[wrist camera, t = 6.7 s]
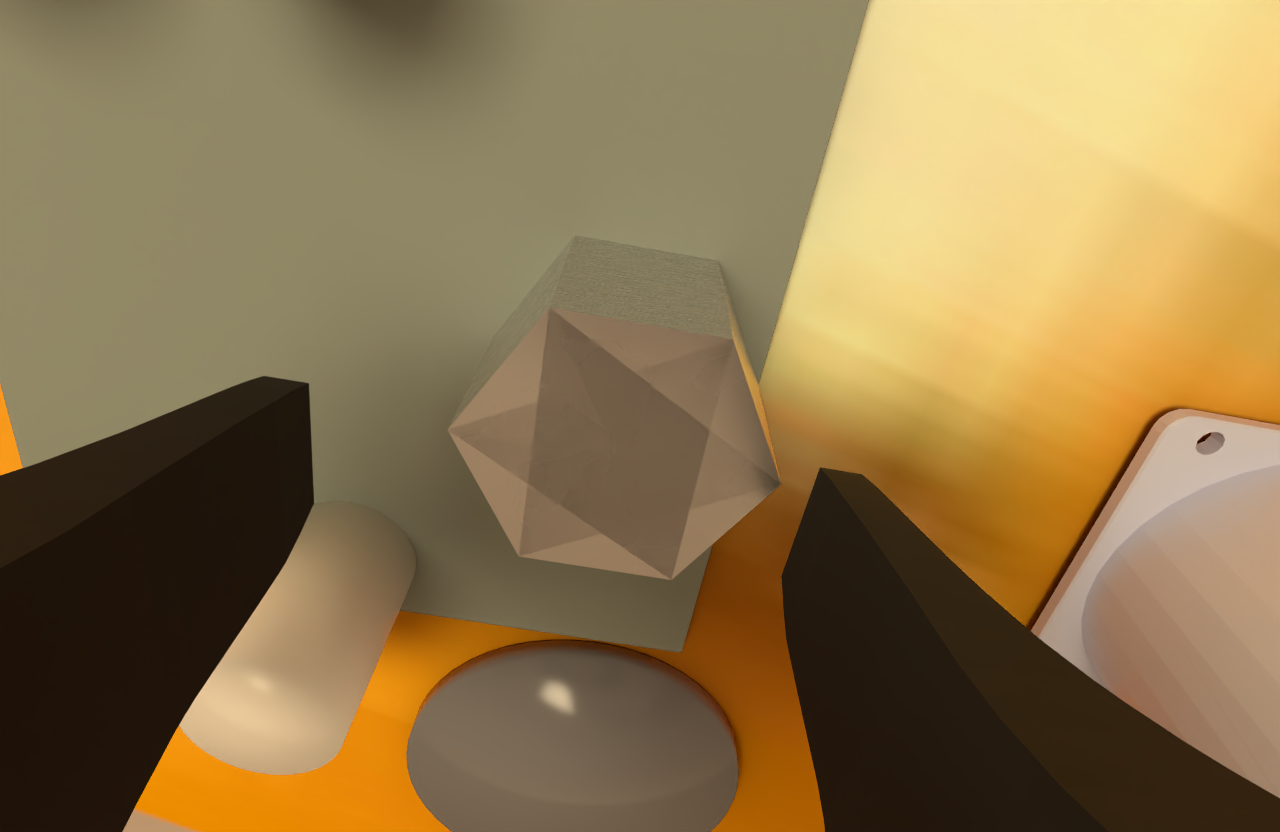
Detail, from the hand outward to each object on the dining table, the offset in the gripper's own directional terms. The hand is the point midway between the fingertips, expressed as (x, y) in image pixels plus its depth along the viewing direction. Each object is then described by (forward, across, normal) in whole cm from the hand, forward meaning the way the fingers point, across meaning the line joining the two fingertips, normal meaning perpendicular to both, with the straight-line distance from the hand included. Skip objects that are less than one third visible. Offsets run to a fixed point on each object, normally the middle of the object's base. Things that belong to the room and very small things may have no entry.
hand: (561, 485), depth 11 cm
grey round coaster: (+5, -1, +12) cm, 13 cm away
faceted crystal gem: (+4, -1, 0) cm, 4 cm away
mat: (+5, +4, 0) cm, 6 cm away
